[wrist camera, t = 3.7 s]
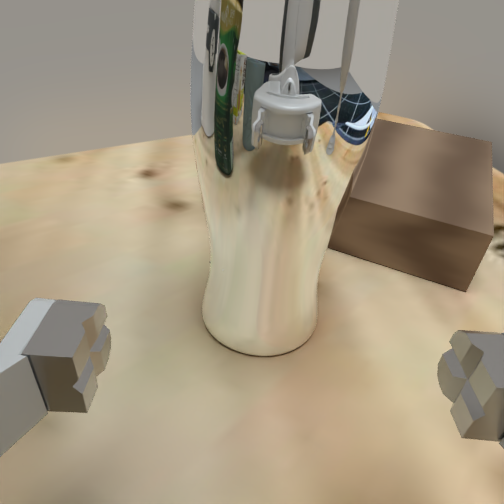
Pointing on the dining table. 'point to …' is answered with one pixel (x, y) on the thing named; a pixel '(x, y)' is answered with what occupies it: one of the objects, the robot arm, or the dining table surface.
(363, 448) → the dining table surface
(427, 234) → the walnut base
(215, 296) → the beer glass
